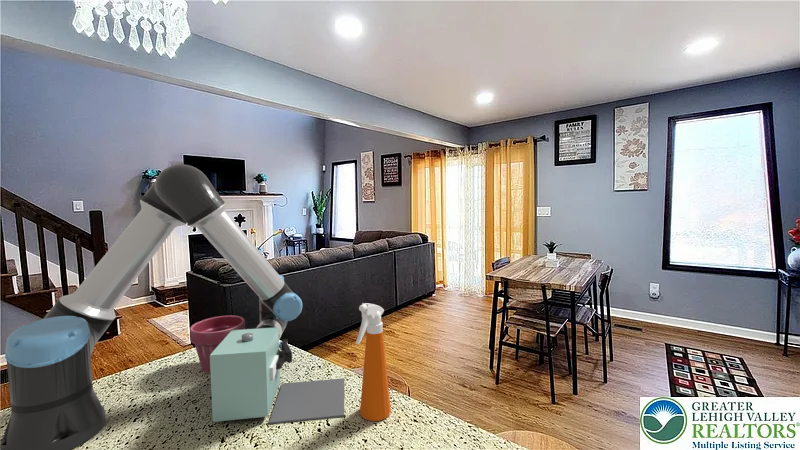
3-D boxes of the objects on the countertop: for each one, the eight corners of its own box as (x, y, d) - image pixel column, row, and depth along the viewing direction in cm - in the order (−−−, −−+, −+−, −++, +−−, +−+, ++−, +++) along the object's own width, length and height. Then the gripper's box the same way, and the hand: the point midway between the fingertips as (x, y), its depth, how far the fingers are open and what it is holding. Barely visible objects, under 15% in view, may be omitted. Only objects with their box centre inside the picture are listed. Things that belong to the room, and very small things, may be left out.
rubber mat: (269, 424, 74) (268, 422, 74) (282, 384, 89) (282, 383, 89) (344, 416, 76) (344, 414, 76) (344, 379, 92) (344, 378, 92)
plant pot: (180, 372, 96) (177, 327, 95) (223, 351, 109) (221, 312, 108) (216, 382, 91) (214, 335, 90) (256, 359, 104) (255, 318, 103)
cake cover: (212, 421, 73) (209, 349, 71) (234, 386, 87) (231, 325, 85) (267, 416, 74) (265, 345, 73) (280, 382, 88) (278, 322, 87)
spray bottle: (344, 426, 73) (342, 305, 71) (370, 399, 82) (369, 292, 81) (372, 436, 70) (371, 310, 68) (396, 407, 79) (395, 296, 78)
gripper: (308, 347, 100) (298, 387, 78) (222, 353, 96) (186, 397, 74) (308, 322, 99) (297, 355, 78) (221, 327, 95) (185, 363, 74)
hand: (243, 375), depth 76 cm, fingers closed on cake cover, 11 cm apart
